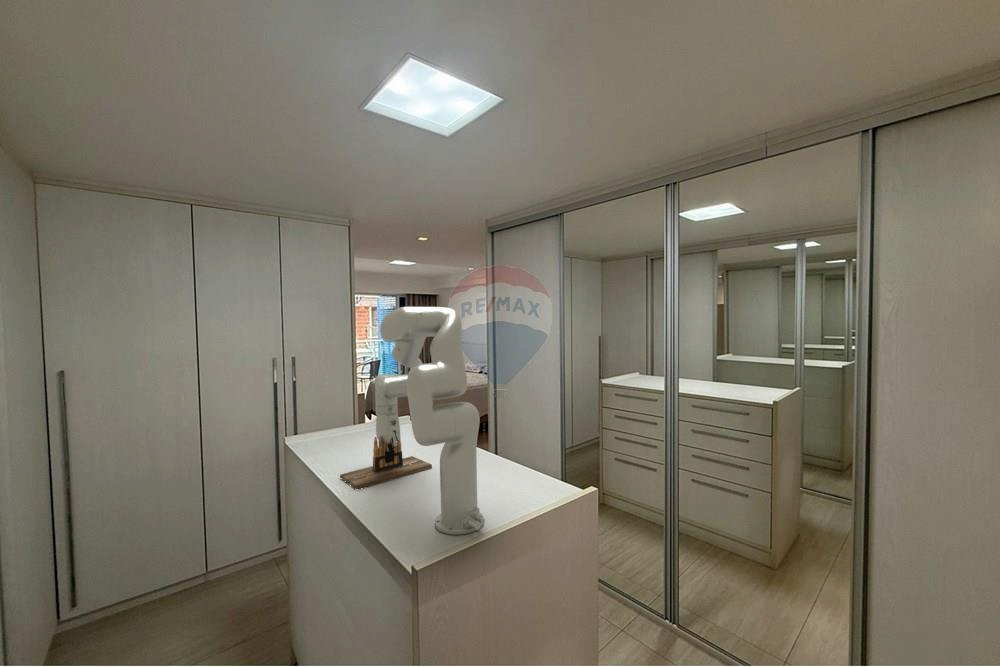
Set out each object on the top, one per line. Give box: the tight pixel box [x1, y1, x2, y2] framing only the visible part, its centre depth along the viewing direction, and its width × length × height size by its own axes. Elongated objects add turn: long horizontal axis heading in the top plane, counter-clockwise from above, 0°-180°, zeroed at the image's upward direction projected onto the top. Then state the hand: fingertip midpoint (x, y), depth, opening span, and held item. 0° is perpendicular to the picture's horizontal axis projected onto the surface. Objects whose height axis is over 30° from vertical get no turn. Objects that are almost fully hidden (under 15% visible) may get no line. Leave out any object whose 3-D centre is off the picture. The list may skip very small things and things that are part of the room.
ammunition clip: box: [372, 436, 404, 472], centre depth 145 cm, size 11×2×12 cm, turn 132°
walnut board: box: [339, 455, 433, 490], centre depth 145 cm, size 14×28×2 cm, turn 132°
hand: (388, 460), depth 145 cm, fingers closed on ammunition clip, 2 cm apart
